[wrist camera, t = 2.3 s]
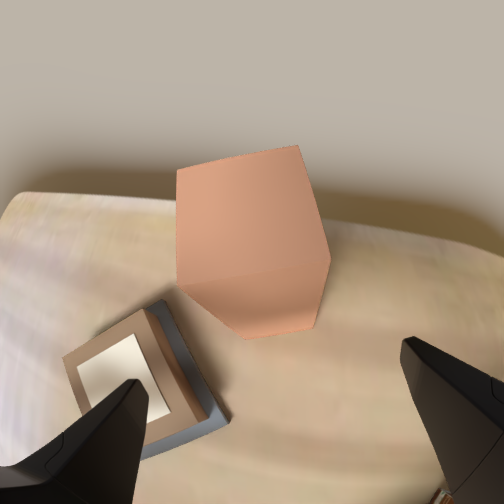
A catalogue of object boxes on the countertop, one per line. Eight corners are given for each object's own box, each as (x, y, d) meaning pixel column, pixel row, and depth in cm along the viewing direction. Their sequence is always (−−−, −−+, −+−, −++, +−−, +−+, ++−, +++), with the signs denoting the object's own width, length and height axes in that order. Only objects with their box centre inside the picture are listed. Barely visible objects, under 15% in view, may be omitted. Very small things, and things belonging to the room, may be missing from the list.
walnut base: (229, 423, 19) (218, 429, 16) (120, 467, 18) (99, 474, 15) (165, 301, 23) (147, 289, 20) (73, 356, 22) (51, 351, 19)
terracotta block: (312, 328, 21) (331, 259, 9) (245, 339, 21) (177, 286, 9) (300, 265, 23) (298, 144, 11) (237, 276, 23) (177, 170, 12)
